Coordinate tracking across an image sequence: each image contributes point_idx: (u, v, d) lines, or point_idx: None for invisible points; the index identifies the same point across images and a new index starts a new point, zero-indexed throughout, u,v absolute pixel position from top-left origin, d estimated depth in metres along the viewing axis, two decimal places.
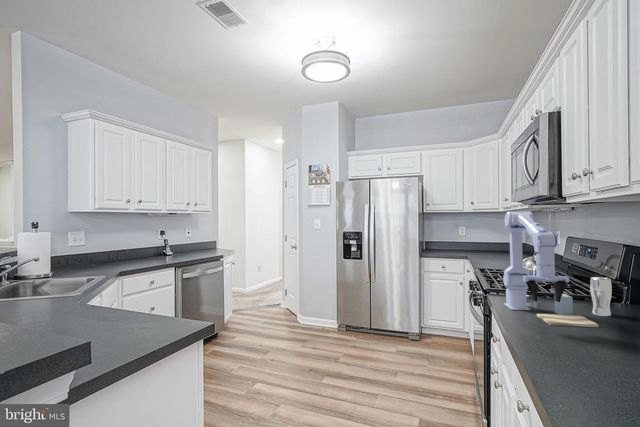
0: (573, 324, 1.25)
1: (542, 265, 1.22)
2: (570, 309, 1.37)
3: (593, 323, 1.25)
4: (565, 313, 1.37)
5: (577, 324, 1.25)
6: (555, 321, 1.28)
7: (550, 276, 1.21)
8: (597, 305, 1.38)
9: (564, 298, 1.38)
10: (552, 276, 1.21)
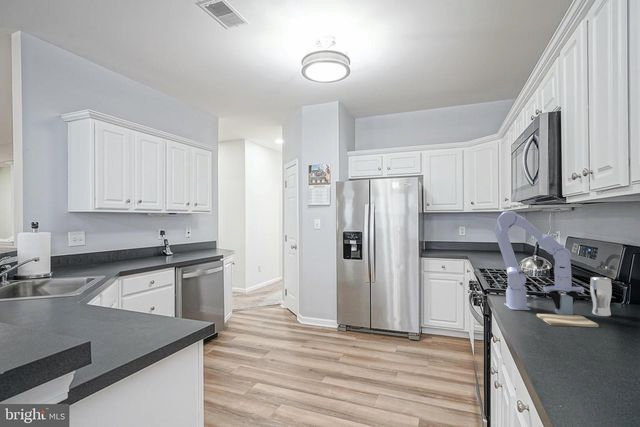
0: (573, 324, 1.25)
1: (560, 277, 1.39)
2: (570, 309, 1.37)
3: (593, 323, 1.25)
4: (565, 313, 1.37)
5: (577, 324, 1.25)
6: (555, 321, 1.28)
7: (567, 287, 1.38)
8: (597, 305, 1.38)
9: (564, 298, 1.38)
10: (569, 287, 1.38)
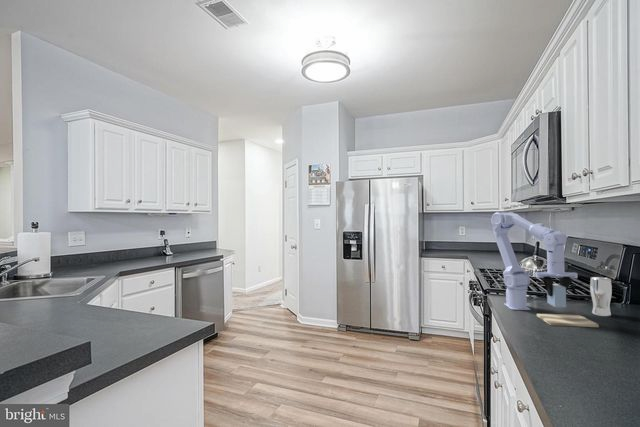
0: (573, 324, 1.25)
1: (553, 262, 1.32)
2: (563, 299, 1.31)
3: (593, 323, 1.25)
4: (558, 304, 1.31)
5: (577, 324, 1.25)
6: (555, 321, 1.28)
7: (560, 272, 1.31)
8: (597, 305, 1.38)
9: (557, 288, 1.31)
10: (562, 272, 1.31)
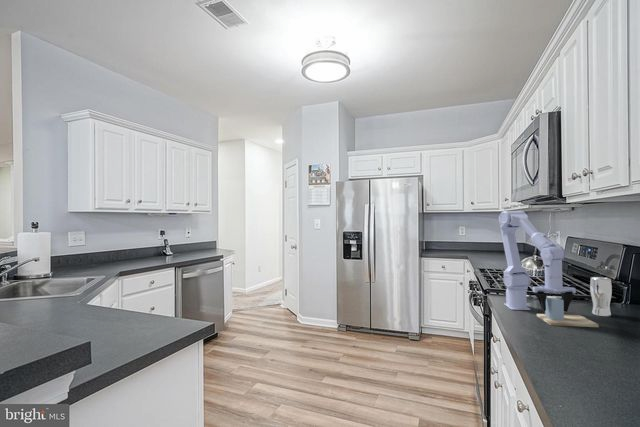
0: (573, 324, 1.25)
1: (550, 277, 1.30)
2: (561, 313, 1.29)
3: (593, 323, 1.25)
4: (555, 317, 1.29)
5: (577, 324, 1.25)
6: (555, 321, 1.28)
7: (558, 287, 1.29)
8: (597, 305, 1.38)
9: (554, 301, 1.29)
10: (560, 287, 1.29)
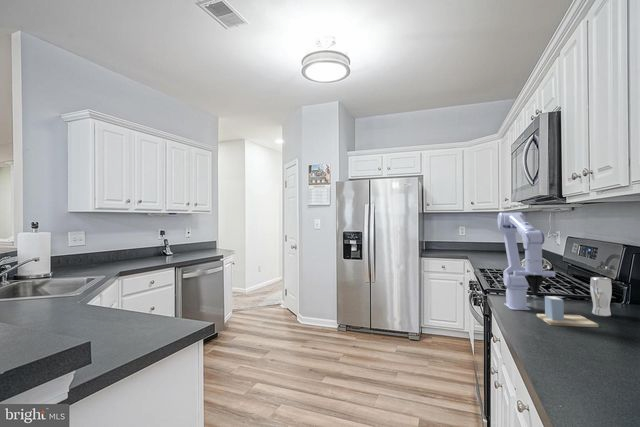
0: (573, 324, 1.25)
1: (530, 261, 1.32)
2: (561, 313, 1.29)
3: (593, 323, 1.25)
4: (555, 317, 1.29)
5: (577, 324, 1.25)
6: (555, 321, 1.28)
7: (538, 271, 1.31)
8: (597, 305, 1.38)
9: (554, 301, 1.29)
10: (539, 271, 1.31)
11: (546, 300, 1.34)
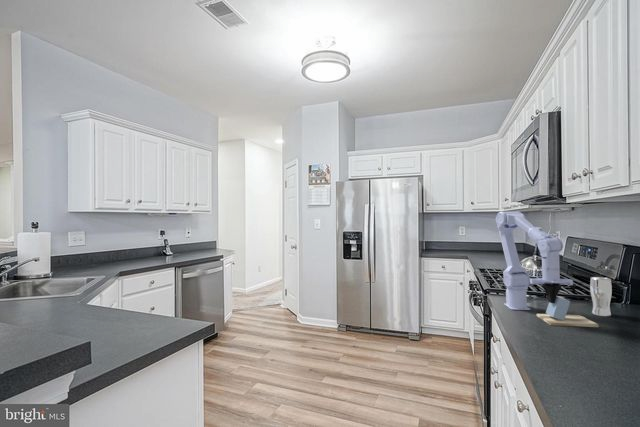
0: (573, 324, 1.25)
1: (548, 269, 1.31)
2: (563, 312, 1.29)
3: (593, 323, 1.25)
4: (557, 315, 1.29)
5: (577, 324, 1.25)
6: (555, 321, 1.28)
7: (555, 279, 1.29)
8: (597, 305, 1.38)
9: (561, 300, 1.29)
10: (557, 279, 1.29)
11: None
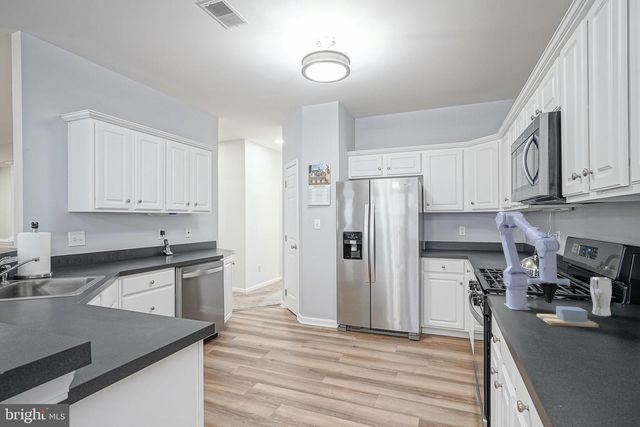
0: (573, 324, 1.25)
1: (545, 269, 1.31)
2: (572, 318, 1.28)
3: (593, 323, 1.25)
4: (567, 313, 1.29)
5: (577, 324, 1.25)
6: (555, 321, 1.28)
7: (552, 279, 1.30)
8: (597, 305, 1.38)
9: (585, 313, 1.27)
10: (554, 279, 1.30)
11: (576, 307, 1.32)
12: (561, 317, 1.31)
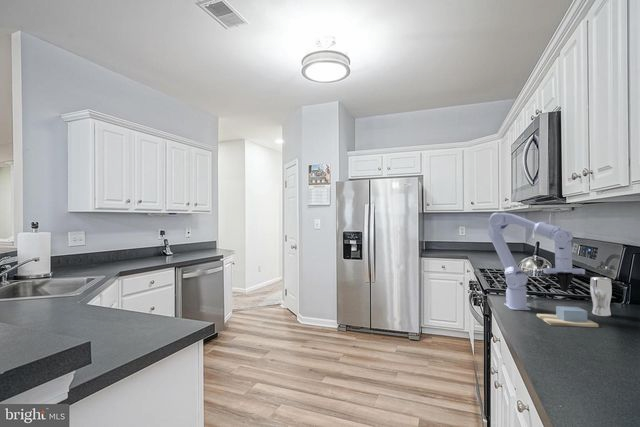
0: (573, 324, 1.25)
1: (561, 258, 1.36)
2: (572, 318, 1.28)
3: (593, 323, 1.25)
4: (567, 313, 1.29)
5: (577, 324, 1.25)
6: (555, 321, 1.28)
7: (568, 268, 1.35)
8: (597, 305, 1.38)
9: (585, 313, 1.27)
10: (570, 268, 1.35)
11: (576, 307, 1.32)
12: (561, 317, 1.31)
